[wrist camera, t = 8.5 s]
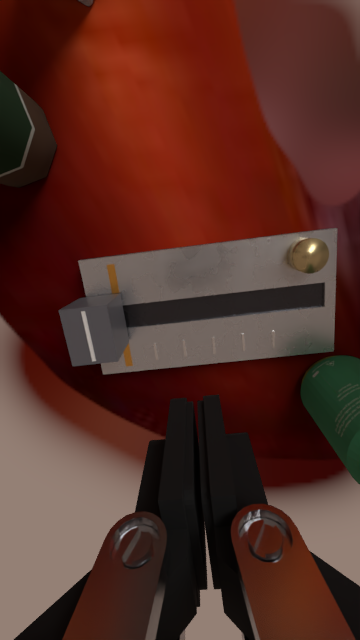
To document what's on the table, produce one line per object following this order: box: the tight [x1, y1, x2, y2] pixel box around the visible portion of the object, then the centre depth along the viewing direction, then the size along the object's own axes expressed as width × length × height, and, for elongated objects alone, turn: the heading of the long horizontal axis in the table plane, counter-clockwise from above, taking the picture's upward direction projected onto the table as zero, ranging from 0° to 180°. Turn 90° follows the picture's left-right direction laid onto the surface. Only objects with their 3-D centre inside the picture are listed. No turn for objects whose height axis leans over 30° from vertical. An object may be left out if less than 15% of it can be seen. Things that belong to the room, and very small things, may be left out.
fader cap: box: [59, 293, 129, 366], centre depth 26 cm, size 4×5×5 cm
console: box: [78, 228, 337, 374], centre depth 28 cm, size 24×12×4 cm, turn 97°
